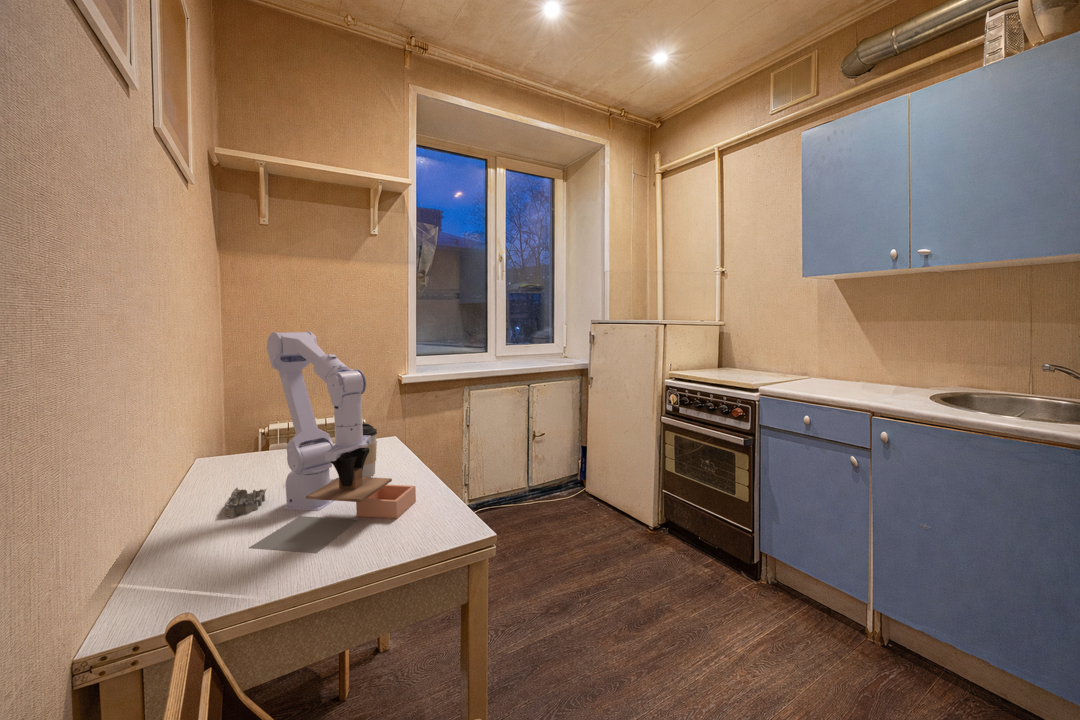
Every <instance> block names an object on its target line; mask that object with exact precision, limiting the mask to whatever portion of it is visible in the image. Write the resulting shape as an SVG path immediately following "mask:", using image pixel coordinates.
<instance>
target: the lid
mask: <svg viewBox="0 0 1080 720" xmlns="http://www.w3.org/2000/svg"><path fill="white" fill-rule="evenodd" d="M392 481H393V479H392V478H391V477H390V478H387V477H374V476H372V477H362V468H354V469H353V482H352V486H342V484H341V481H340V478H339V477H338V478H336V479H334V480H332V481H330V483H329V484H327V485H325V486H323V487H321V488H320V489H318V490H316V491H314V492H312V493H310V494H309V495H307V496H306V499H317V500H333V502H353V503H356V502H362V501H364V500H365V499H367V498H368V497H370V496H371V495H372V494H374V493H375V492H377V491H378V490H380V489H381V488H382V487H384V486H385V485H389V483H392Z"/></svg>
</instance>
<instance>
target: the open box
mask: <svg viewBox="0 0 1080 720" xmlns="http://www.w3.org/2000/svg"><path fill="white" fill-rule="evenodd" d="M416 493H417V492H416V485H406V484H405V485H403V484H387V485H385V486H384V487H382V488H381V489H380V490H378V491H377V492H375V493H374V494H372V495H371V496H370V497H368V498H367V499H365V500H364V501H362V502H355V505H356V518H357V517H358V518H370V519H371V518H372V519H374V518H375V519H388V520H398V519H399V518H400V517H402V515H404V514H405V513H406V512H407V511H408V510H409V509H410V508H411V507H412V506H413V505H414V504H416V502H417V500H416V499H417V496H416V495H417V494H416Z"/></svg>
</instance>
